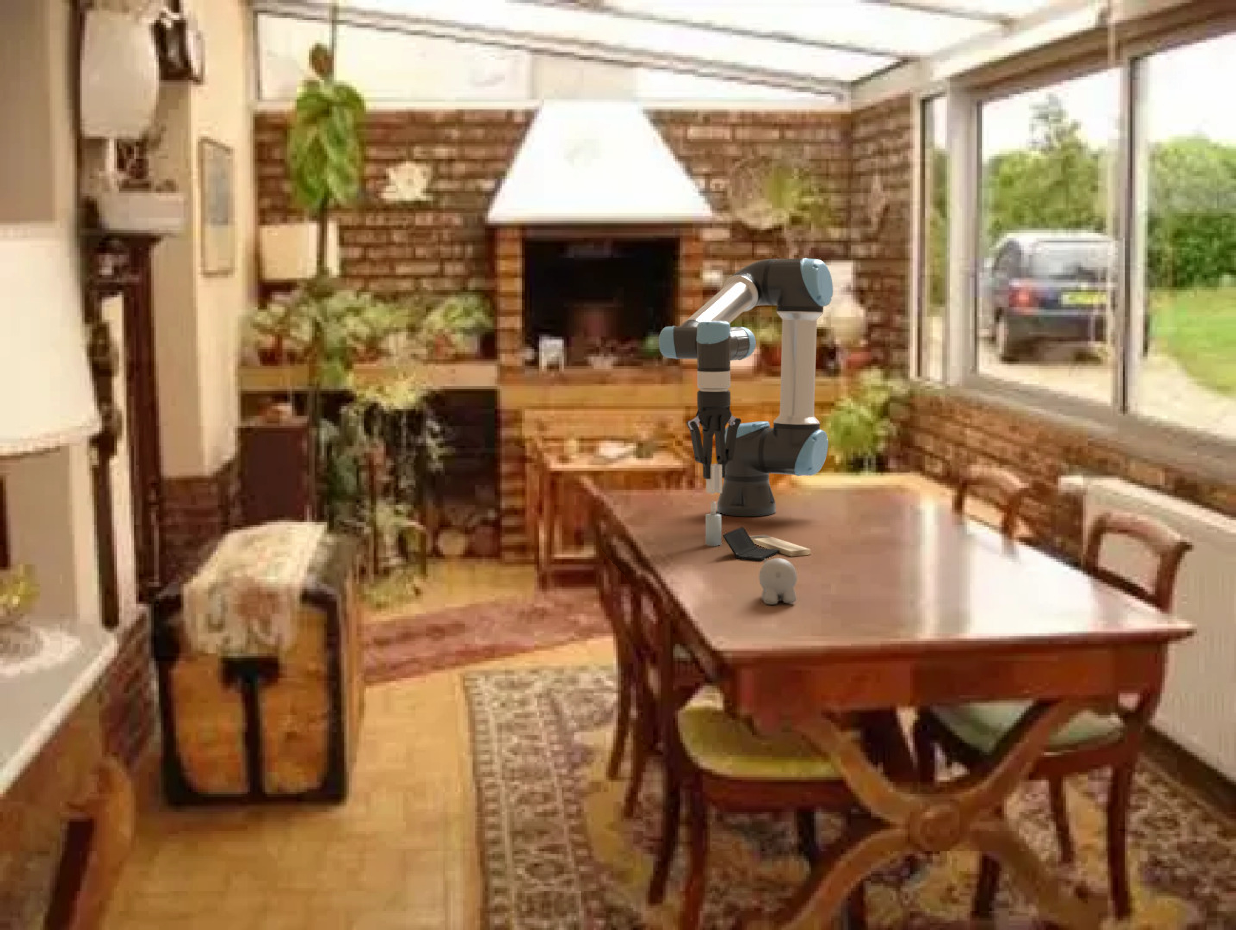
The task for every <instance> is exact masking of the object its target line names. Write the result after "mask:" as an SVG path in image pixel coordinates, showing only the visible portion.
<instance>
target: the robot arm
mask: <svg viewBox="0 0 1236 930" xmlns="http://www.w3.org/2000/svg"><path fill="white" fill-rule="evenodd" d="M833 284H834V283H833V279H832V275H831V272H830V270H829V267H828V266H827V264H826V263H825V262H824V261H822V260H821V259H816V258H807V257H805V258H804V257H803V258H766V259H761V260H757V261H753V262H752V263H750V264H748V265H746V266H743V268H740V269H739V270H737V271H736V272H735V273H733V274H732V275H730V277H728V278H727V279H726V280H725V281H724V283H723V286H722V288H721V290H720V291H718V292H717V293H716V294H715V295H713V296H712V297H711V298H710V299H709V300H708V301H707V302H706V303H705V304H703V305H702V306H701V307H700V308H699V309H698V310H696V311H695V312H694V313H693V314H692V315H691V316H690V317H688V318H687V319H686V320H685V321H684V322H683V323H682V324H680V325H679V326H676V325H672V326H665V327H664V328H662V330H661V331H660V334H659V336H658V349H659V352H660V353H661V355H662V356H663V357H665V358H667V359H675V360H696V362H697V366H696V370H697V371H696V372H697V374H696V376H697V377H696V379H697V380H696V383H697V384H696V385H697V386H696V387H697V389H699V390H697V393H696V401H697V411H696V415H695V417H694V418H693V419H691V420H690V419H689V420H687V421H686V426H687V428H688V429H689V432H690V436H691V437H690V438H691V444H692V450H693V455H694V460H695V462H697V463H700V464H701V465H702V473H703V474H702V477H703V479H704V480H705V492H706V494H707V493H708V494H711V495H715V494H716V493H717V494H719V497H718V500H717V501H716V513H717V514H720V513H722V514H721V515H724V514H725V516H732V517H733V516H735V517H761V516H769V515H773V514H775V513H776V512H777V511H776V510H777V504H776V500H775V498H774V495H773V491H772V487H771V484H770V474H775V475H776V474H778V475H788V476H797V477H801V476H810V477H811V476H814V475H816V474H818V473H819V472H820V470H822V467H823V466H824V464H825V461H826V458H827V455H828V449H829V439H828V434H827V432H826V431H825V430H822V429H821V426H820V425H821V422H820V421H819V420H818V419H817V418H816V416H815V399H816V398H815V395H816V394H815V392H816V391H815V390H816V363H817V361H816V360H817V359H816V357H817V356H816V355H817V329H818V328H817V325H818V319H819V318H820V317H821V316H823V315H824V307H827V306H829V305H830V304H831V301H832V297H833V296H834V295H833V292H834V285H833ZM757 306H759V307H760V306H776V313H777V315H778V316H779V318H780V319H781V320H782V325H781V362H780V364H781V365H780V392H779V394H780V395H779V396H780V397H779V398H780V399H779V415H778V416H777V417H776V418H775V419H774V420H773V427H771V424H770V422H769V421H764V420H763V421H752V422H743V423H742V419H741V418H740V417H736V416H734V415H733V414H732V411H731V408H730V407H731V391H730V390H729V389H730V388H731V361H742V360H744V359H747V358H749V357H750V356H751V355H753V353H755V349H756V345H757V344H756V343H757V341H756V337H755V335H754V333H753V332H752V330H750V329H749V328H748V327H743V326H733V327H731V323H732V322H734V320H735V319H736V318H737V317H739V316H740V315H741V314H742V313H743V312H748V311H750V310H752V309H753V308H754V307H757ZM700 425H701V427H702V429H701V430H702V436H701V430H700V429H699V428H700ZM727 425H728V426H727ZM701 437H702V438H701ZM714 439H715V440H714ZM713 440H714V441H715V458H716V459H715V460H716V463H713V462H712V461H713V460H712V459H713V445H714V444H713ZM712 463H713V464H712Z"/></svg>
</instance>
